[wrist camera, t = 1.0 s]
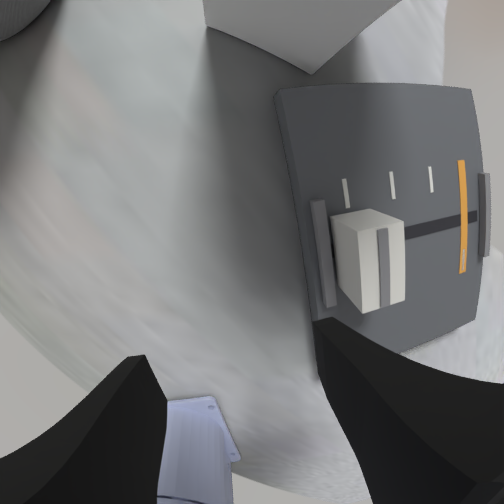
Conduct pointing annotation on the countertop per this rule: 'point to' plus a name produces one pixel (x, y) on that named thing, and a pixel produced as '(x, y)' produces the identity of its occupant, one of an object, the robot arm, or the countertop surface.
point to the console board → (391, 197)
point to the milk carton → (296, 25)
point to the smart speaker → (18, 15)
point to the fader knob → (369, 258)
